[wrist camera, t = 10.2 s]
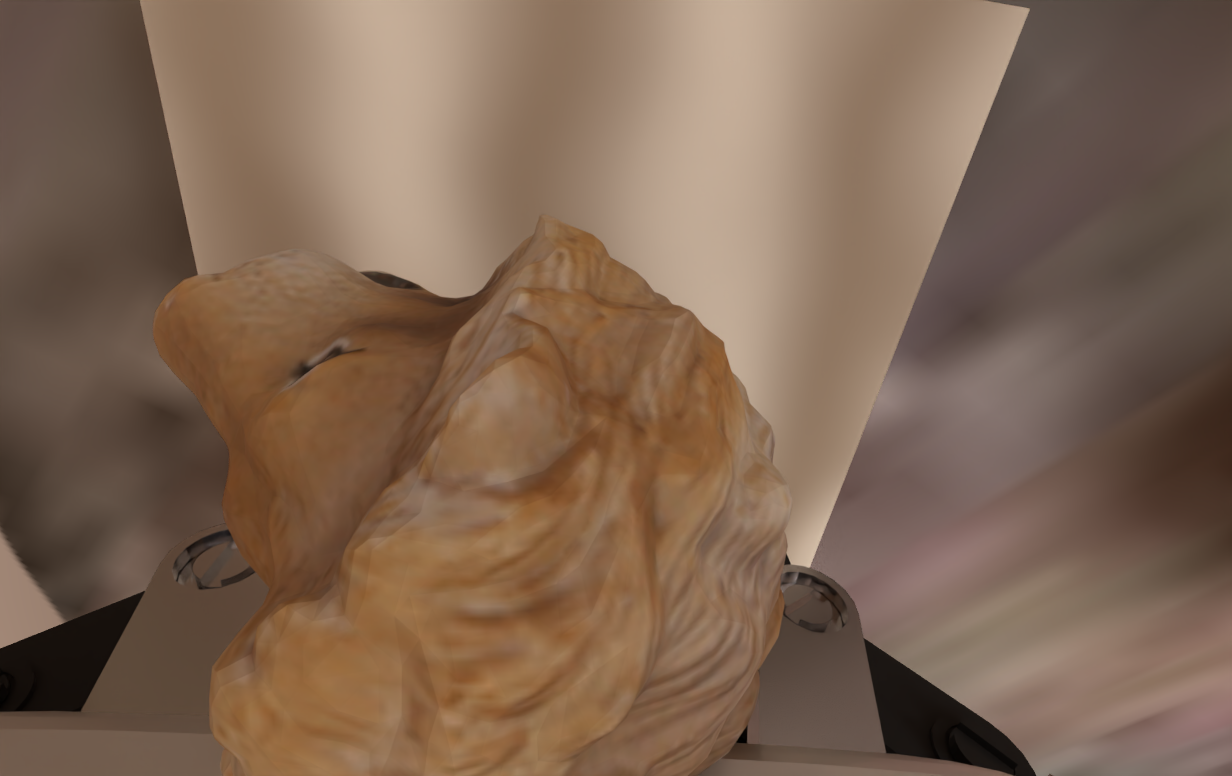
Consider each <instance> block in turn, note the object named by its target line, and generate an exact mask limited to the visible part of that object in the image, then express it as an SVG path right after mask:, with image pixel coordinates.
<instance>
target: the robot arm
mask: <svg viewBox="0 0 1232 776" xmlns="http://www.w3.org/2000/svg"><path fill="white" fill-rule="evenodd" d="M780 578H781V585H780V588H781V590H782V594H783V598H784V602H785V605H784V611H783V616H782V621H781V626H780V631H779V636H778V639H777V640H776V642H775V644H774V645H773V647H772V649H771V650H770V652H769V654H768V655H767V657H766V659H765V660H764V662H763V664H762V665H761V667H760V668H759V670H758V672H759V679H760V688H759V692H758V696H757V701H756V705H755V709H754V711H753V714H752V716H751V718H750V720H749V723H748V725H747V727H746V728H745V729H744V731H743V732H742V734H741V735H740V737H739V738H738V740H737V741H736V743H735V744H734V746H733V747H732V748H731V750H730V751H729V753H727V754H726V755H725V756H723V757H722V758H721V759H719V760H718V761H717V762H715V763H714V764H713V765H711V766H710V767H709V768H707V769H706V770H705V771H703V772H702V773H701V774H700V775H698V776H1036V774H1035V772H1034V770H1033V769H1032V767H1031V766H1030V764H1029V763H1028V761H1027V760H1026V758H1025V756H1024V755H1023V753H1022V752H1021V751H1020V750H1019V749H1018V748H1017V747H1016V746H1015V745H1014V744H1013V743H1012V742H1011V740H1010V739H1009V738H1008V737H1007V736H1005V735H1004V734H1003V733H1002V732H1000V731H999V730H998V729H997V728H995V727H994V726H993V725H992V724H990V723H989V722H988V721H986V720H985V719H983V718H982V717H980V716H979V715H977V714H976V713H974V712H973V711H971V710H970V709H968V708H967V707H965V706H964V705H962V704H961V703H959V702H958V701H956V700H955V699H953V698H952V697H950V696H949V695H947V694H946V693H945V692H943V691H942V690H940V689H939V688H937V687H936V686H934V685H933V684H931V683H930V682H928V681H927V680H925V679H924V678H922V677H921V676H919V675H918V674H916V673H915V672H913V671H912V670H910V669H909V668H907V667H906V666H904V665H903V664H901V663H900V662H898V661H897V660H896V659H894V658H893V657H891V656H890V655H888V654H887V653H885V652H884V651H882V650H881V649H879V648H878V647H876V646H875V645H873V644H872V643H870V642H869V641H867V640H866V639H864V638H863V633H862V628H861V623H860V617H859V613H858V611H857V608H856V605H855V603H854V601H853V600H852V598H851V597H850V596H849V594H848V593H847V592H846V590H845V589H843V588H842V587H841V586H840V585H839V584H838V583H837V582H835V581H834V580H833V579H831V578H829V577H828V576H826V575H824V574H823V573H821V572H819V571H816V570H814V569H811V568H808V567H805V566H799V565H792V564H791V563H790V561H789V558H788V556H787V553H786V557H785V562H784V567H783V572H782V574H781V577H780ZM268 592H269V587H268V586H267V585H266V584H265V583H264V582H263V580H262V579H261V578H260V577H259V576H258V574H257V573H256V572H255V571H254V570H253V569H252V567H251V566H250V565H249V564H248V563H247V561H246V560H245V559H244V558H243V557H242V556H241V554H240V552H239V550H238V548H237V546H236V544H235V542H234V539H233V537H232V535H231V533H230V531H229V529H228V527H227V525H226V523H225V524H220V525H217V526H214V527H211V528H208V529H205V530H202V531H200V532H198V533H196V534H194V535H192V536H190V537H188V538H186V539H184V540H183V541H182V542H180V543H179V544H178V545H177V546H175V547H174V548H173V549H172V550H170V551H169V553H168V554H167V555H166V557H165V558H164V559H163V560H162V562H161V563H160V565H159V567H158V569H157V570H156V572H155V574H154V576H153V578H152V580H151V582H150V583H149V585H148V587H147V589H146V591H143V592H141V593H138V594H136V595H133V596H131V597H128V598H126V599H123V600H121V601H118V602H116V603H113V604H111V605H108V606H106V607H103V608H101V609H98V610H96V611H93V612H91V613H88V614H86V615H83V616H81V617H78V618H76V619H73V620H71V621H68V622H66V623H63V624H61V625H58V626H56V627H53V628H51V629H48V630H46V631H44V632H41V633H38V634H36V635H33V636H31V637H28V638H26V639H23V640H21V641H18V642H16V643H13V644H11V645H8V646H6V647H3V648H1V649H0V776H222V773H221V769H220V761H221V756H222V752H223V750H224V747H222V746H221V745H220V744H219V743H218V742H217V741H216V740H215V738H214V736H213V734H212V731H211V729H210V726H209V693H210V683H211V673H212V666H213V665H214V664H215V662H216V661H217V660H218V658H219V657H220V656H221V654H222V653H223V652H224V651H225V649H226V648H227V647H228V645H229V644H230V643H231V641H232V640H233V639H234V637H235V636H236V635H237V634H238V632H239V631H240V630H241V629H242V628H243V627H244V625H245V624H246V623H247V622H248V621H249V620H250V619H251V617H252V616H253V615H254V614H255V613H256V612H257V611H258V609H259V608H260V607H261V606H262V605H263V603H264V601H265V598H266V596H267V594H268ZM1048 776H1053V775H1051V774H1049V775H1048Z"/></svg>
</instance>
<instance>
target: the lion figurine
mask: <svg viewBox="0 0 1232 776" xmlns="http://www.w3.org/2000/svg"><path fill="white" fill-rule="evenodd" d="M153 336H154V341H155V344H156V346H157V349H158V352H159V355H160V357H161V358H162V359H163V360H164V362H165V363H166V364H167V365H168V367H169V368H170V369H171V370H172V372H173V373H174V374H175V375H176V376H177V377H178V378H179V379H180V380H181V381H182V382H183V383H184V384H185V385H186V386H187V387H188V388H189V389H190V390H191V391H192V392H193V393H194V394H195V395H196V397H197V399H198V400H199V402H200V404H201V406H202V407H203V409H204V411H205V412H206V414H207V416H208V417H209V419H210V420H211V422H212V423H213V425H214V426H215V428H216V429H217V431H218V432H219V434H220V435H221V437H222V438H223V440H224V441H225V443H226V444H227V447H228V451H229V471H228V476H227V481H226V486H225V490H224V495H223V500H222V509H223V516H224V520H225V522H226V525H227V527H228V529H229V531H230V533H231V535H232V537H233V539H234V542H235V544H236V546H237V548H238V550H239V552H240V554H241V556H242V557H243V558H244V559H245V560H246V561H247V563H248V564H249V565H250V566H251V567H252V569H253V570H254V571H255V572H256V573H257V574H258V576H259V577H260V578H261V579H262V580H263V582H264V583H265V584H266V585H267V586H268V587H269V592H268V594H267V596H266V598H265V601H264V603H263V605H262V606H261V607H260V608H259V609H258V611H257V612H256V613H255V614H254V615H253V616H252V617H251V619H250V620H249V621H248V622H247V623H246V624H245V625H244V627H243V628H242V629H241V630H240V631H239V632H238V634H237V635H236V636H235V637H234V639H233V640H232V641H231V643H230V644H229V645H228V647H227V648H226V649H225V651H224V652H223V653H222V654H221V656H220V657H219V658H218V660H217V661H216V662H215V664H214V665H213V666H212V673H211V683H210V693H209V726H210V729H211V731H212V734H213V736H214V738H215V740H216V741H217V742H218V743H219V744H220V745H221V746H222V747H224V750H223V752H222V756H221V761H220V769H221V773H222V776H698V775H700V774H701V773H702V772H703V771H705V770H706V769H707V768H709V767H710V766H711V765H713V764H714V763H715V762H717V761H718V760H719V759H721V758H722V757H723V756H725V755H726V754H727V753H729V751H730V750H731V748H732V747H733V746H734V744H735V743H736V741H737V740H738V738H739V737H740V735H741V734H742V732H743V731H744V729H745V728H746V727H747V725H748V723H749V720H750V718H751V716H752V714H753V711H754V709H755V705H756V701H757V696H758V692H759V688H760V679H759V672H758V670H759V668H760V667H761V665H762V664H763V662H764V660H765V659H766V657H767V655H768V654H769V652H770V650H771V649H772V647H773V645H774V644H775V642H776V640H777V639H778V636H779V631H780V626H781V621H782V616H783V611H784V605H785V602H784V598H783V594H782V590H781V588H780V585H781V578H780V577H781V574H782V572H783V567H784V562H785V557H786V552H787V548H788V544H787V538H786V534H785V532H784V530H785V529H786V527H787V525H788V522H789V519H790V515H791V511H792V508H793V505H792V497H791V493H790V488H789V485H788V483H787V482H786V480H785V479H784V477H783V476H782V474H781V473H780V471H779V470H778V469H777V468H776V467H775V466H774V465H773V454H774V447H775V436H774V433H773V430H772V427H771V425H770V424H769V423H768V422H767V421H766V419H765V418H764V417H763V416H762V415H761V414H760V413H759V412H758V411H757V410H756V409H755V408H754V407H753V406H752V405H751V404H750V402H749V398H748V395H747V391H746V388H745V386H744V385H743V384H742V382H741V381H740V379H739V378H738V377H737V376H736V375H735V374H734V373H733V372H732V371H731V368H730V365H729V361H728V358H727V355H726V352H725V346H724V342H723V341H722V340H721V339H720V338H719V337H717V336H716V335H715V334H713V333H712V332H711V331H709V330H708V329H707V328H705V327H704V326H703V325H702V323H701V322H700V321H699V320H698V318H697V317H696V316H695V315H694V313H693V312H691V311H690V310H688V309H686V308H684V307H682V306H679V305H674V304H672V303H671V302H670V301H669V299H668V298H667V297H665V296H663V295H661V294H659V293H656V292H654V291H653V289H652V288H651V287H650V285H649V284H648V283H647V282H646V280H645V279H643V278H642V277H641V276H640V275H639V274H638V273H637V272H636V271H634V270H633V269H631V268H629V267H627V266H625V265H624V264H622V263H620V262H618V261H616V260H615V259H613V258H611V257H610V256H609V254H608V252H607V250H606V248H605V246H604V244H603V243H602V242H601V241H600V240H599V239H598V238H596V237H595V236H594V235H593V234H590V233H588V232H585V231H583V230H580V229H578V228H575V227H573V226H570V225H568V224H565V223H563V222H561V221H560V220H558V219H556V218H553V217H551V216H548V215H540V216H539V219H538V223H537V226H536V229H535V233H534V234H533V235H532V236H530V237H529V238H527V239H525V240H524V241H523V242H522V243H521V244H520V245H519V246H518V247H517V248H516V249H515V250H514V251H513V252H512V254H511V255H510V256H509V257H508V258H507V259H506V260H505V261H504V262H502V263H501V264H500V265H499V266H498V267H497V268H496V269H495V271H494V273H493V274H492V276H491V278H490V279H489V281H488V282H487V283H486V285H485V286H484V287H483V289H482V290H480V291H479V292H477V293H476V294H475V295H472V296H466V297H460V298H449V297H441V296H438V295H436V294H434V293H431V292H429V291H428V290H426V289H425V288H423V287H422V286H420V285H418V284H416V283H413V282H411V281H409V280H406V279H403V278H400V277H397V276H395V275H393V274H390V273H387V272H384V271H373V270H366V271H359V272H358V271H356V270H355V269H353V268H351V267H350V266H348V265H346V264H345V263H343V262H342V261H340V260H338V259H336V258H334V257H331V256H329V255H327V254H324V253H321V252H317V251H313V250H307V249H291V250H286V251H281V252H277V253H273V254H269V255H265V256H262V257H258V258H254V259H251V260H248V261H246V262H243V263H241V264H239V265H237V266H235V267H233V268H231V269H229V270H227V271H225V272H223V273H216V274H205V275H197V276H193V277H189V278H185V279H184V280H183V281H181V282H180V283H179V284H178V285H177V286H176V287H175V288H173V289H172V290H171V291H170V292H169V293H168V294H167V295H166V296H165V298H164V299H163V301H162V302H161V304H160V305H159V307H158V308H157V310H156V311H155V316H154V321H153Z"/></svg>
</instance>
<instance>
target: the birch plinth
mask: <svg viewBox="0 0 1232 776" xmlns="http://www.w3.org/2000/svg"><path fill="white" fill-rule="evenodd" d="M140 4H141V8H142V13H143V18H144V23H145V27H146V32H147V37H148V41H149V46H150V51H151V56H152V60H153V65H154V70H155V74H156V79H157V84H158V89H159V93H160V98H161V103H162V107H163V112H164V117H165V122H166V126H167V131H168V136H169V140H170V145H171V150H172V155H173V159H174V164H175V169H176V173H177V178H178V183H179V187H180V192H181V197H182V202H183V206H184V211H185V216H186V220H187V225H188V230H189V235H190V239H191V244H192V249H193V253H194V258H195V263H196V268H197V272H198V275H205V274H216V273H223V272H225V271H227V270H229V269H231V268H233V267H235V266H237V265H239V264H241V263H243V262H246V261H248V260H251V259H254V258H258V257H262V256H265V255H269V254H273V253H277V252H281V251H286V250H291V249H307V250H313V251H317V252H321V253H324V254H327V255H329V256H331V257H334V258H336V259H338V260H340V261H342V262H343V263H345V264H346V265H348V266H350V267H351V268H353V269H355V270H356V271H358V272H359V271H366V270H373V271H384V272H387V273H390V274H393V275H395V276H397V277H400V278H403V279H406V280H409V281H411V282H413V283H416V284H418V285H420V286H422V287H423V288H425V289H426V290H428V291H429V292H431V293H434V294H436V295H438V296H441V297H449V298H460V297H466V296H472V295H475V294H476V293H477V292H479V291H480V290H482V289H483V287H484V286H485V285H486V283H487V282H488V281H489V279H490V278H491V276H492V274H493V273H494V271H495V269H496V268H497V267H498V266H499V265H500V264H501V263H502V262H504V261H505V260H506V259H507V258H508V257H509V256H510V255H511V254H512V252H513V251H514V250H515V249H516V248H517V247H518V246H519V245H520V244H521V243H522V242H523V241H524V240H525V239H527V238H529V237H530V236H532V235H533V234H534V233H535V229H536V226H537V223H538V219H539V216H540V215H548V216H551V217H553V218H556V219H558V220H560V221H561V222H563V223H565V224H568V225H570V226H573V227H575V228H578V229H580V230H583V231H585V232H588V233H590V234H593V235H594V236H595V237H596V238H598V239H599V240H600V241H601V242H602V243H603V244H604V246H605V248H606V250H607V252H608V254H609V256H610V257H611V258H613V259H615V260H616V261H618V262H620V263H622V264H624V265H625V266H627V267H629V268H631V269H633V270H634V271H636V272H637V273H638V274H639V275H640V276H641V277H642V278H643V279H645V280H646V282H647V283H648V284H649V285H650V287H651V288H652V289H653V291H654V292H656V293H659V294H661V295H663V296H665V297H667V298H668V299H669V301H670V302H671V303H672V304H674V305H679V306H682V307H684V308H686V309H688V310H690V311H691V312H693V313H694V315H695V316H696V317H697V318H698V320H699V321H700V322H701V323H702V325H703V326H704V327H705V328H707V329H708V330H709V331H711V332H712V333H713V334H715V335H716V336H717V337H719V338H720V339H721V340H722V341H723V342H724V346H725V352H726V355H727V358H728V361H729V365H730V368H731V371H732V372H733V373H734V374H735V375H736V376H737V377H738V378H739V379H740V381H741V382H742V384H743V385H744V386H745V388H746V391H747V395H748V398H749V402H750V404H751V405H752V406H753V407H754V408H755V409H756V410H757V411H758V412H759V413H760V414H761V415H762V416H763V417H764V418H765V419H766V421H767V422H768V423H769V424H770V425H771V427H772V430H773V433H774V436H775V447H774V454H773V465H774V466H775V467H776V468H777V469H778V470H779V471H780V473H781V474H782V476H783V477H784V479H785V480H786V482H787V483H788V485H789V488H790V493H791V497H792V505H793V508H792V511H791V515H790V519H789V522H788V525H787V527H786V529H785V530H784V532H785V534H786V538H787V544H788V548H787V552H786V553H787V556H788V558H789V561H790V563H791V564H792V565H799V566H805V567H808V568H810V565H811V563H812V560H813V558H814V555H815V553H816V550H817V547H818V545H819V542H820V540H821V537H822V535H823V532H824V530H825V527H826V525H827V522H828V520H829V517H830V515H831V512H832V509H833V507H834V504H835V502H836V499H837V497H838V494H839V492H840V489H841V487H842V484H843V482H844V479H845V476H846V474H847V471H848V469H849V466H850V464H851V461H852V459H853V456H854V454H855V451H856V449H857V446H858V444H859V441H860V438H861V436H862V433H863V431H864V428H865V426H866V423H867V421H868V418H869V416H870V413H871V411H872V408H873V405H874V403H875V400H876V398H877V395H878V393H879V390H880V388H881V385H882V383H883V380H884V378H885V375H886V373H887V370H888V367H889V365H890V362H891V360H892V357H893V355H894V352H895V350H896V347H897V345H898V342H899V340H900V337H901V334H902V332H903V329H904V327H905V324H906V322H907V319H908V317H909V314H910V312H911V309H912V307H913V304H914V302H915V299H916V296H917V294H918V291H919V289H920V286H921V284H922V281H923V279H924V276H925V274H926V271H927V269H928V266H929V263H930V261H931V258H932V256H933V253H934V251H935V248H936V246H937V243H938V241H939V238H940V236H941V233H942V231H943V228H944V225H945V223H946V220H947V218H948V215H949V213H950V210H951V208H952V205H953V203H954V200H955V198H956V195H957V192H958V190H959V187H960V185H961V182H962V180H963V177H964V175H965V172H966V170H967V167H968V165H969V162H970V160H971V157H972V154H973V152H974V149H975V147H976V144H977V142H978V139H979V137H980V134H981V132H982V129H983V127H984V124H985V121H986V119H987V116H988V114H989V111H990V109H991V106H992V104H993V101H994V99H995V96H996V94H997V91H998V89H999V86H1000V83H1001V81H1002V78H1003V76H1004V73H1005V71H1006V68H1007V66H1008V63H1009V61H1010V58H1011V56H1012V53H1013V50H1014V48H1015V45H1016V43H1017V40H1018V38H1019V35H1020V33H1021V30H1022V28H1023V25H1024V23H1025V20H1026V18H1027V15H1028V12H1029V10H1030V8H1024V7H1018V6H1013V5H1007V4H1001V3H995V2H990V1H984V0H140Z"/></svg>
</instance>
